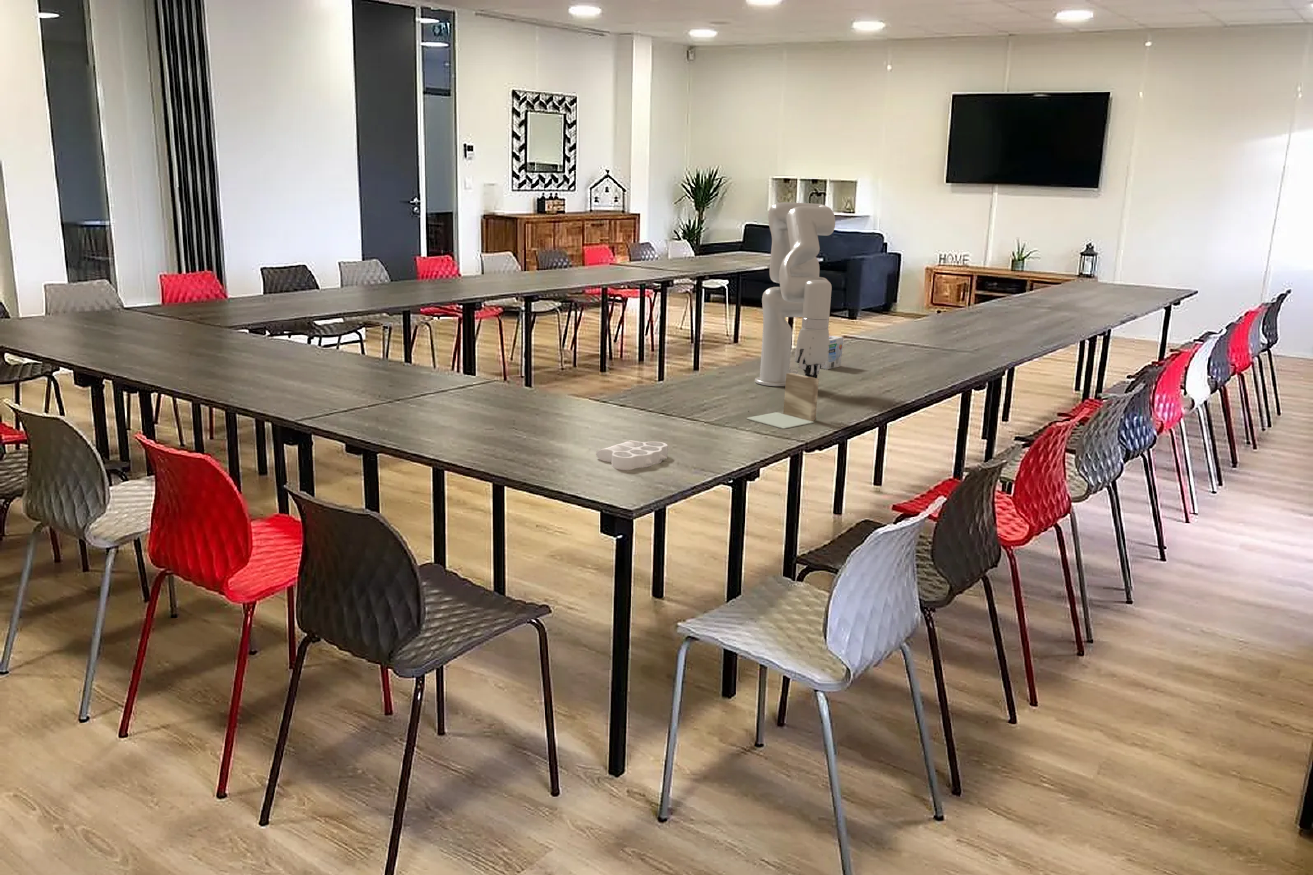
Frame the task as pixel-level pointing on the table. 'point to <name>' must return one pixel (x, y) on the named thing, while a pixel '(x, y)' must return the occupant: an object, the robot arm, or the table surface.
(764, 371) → the robot arm
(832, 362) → the light bulb box
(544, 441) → the table surface
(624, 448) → the white muffin tray
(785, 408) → the birch tile
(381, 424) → the table surface
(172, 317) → the table surface
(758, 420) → the mat
